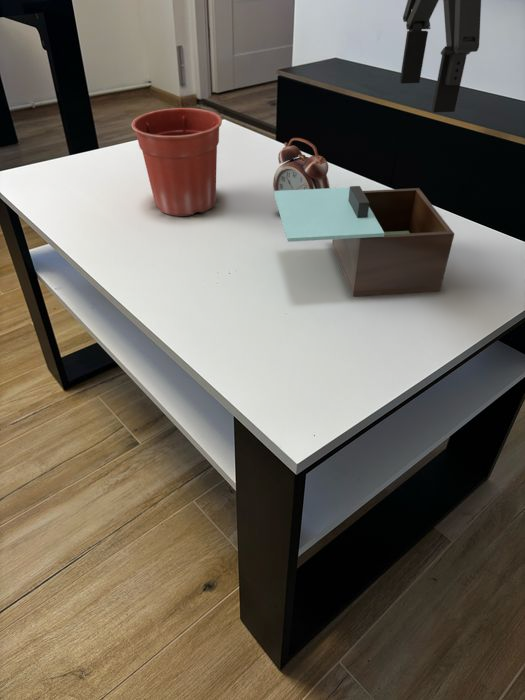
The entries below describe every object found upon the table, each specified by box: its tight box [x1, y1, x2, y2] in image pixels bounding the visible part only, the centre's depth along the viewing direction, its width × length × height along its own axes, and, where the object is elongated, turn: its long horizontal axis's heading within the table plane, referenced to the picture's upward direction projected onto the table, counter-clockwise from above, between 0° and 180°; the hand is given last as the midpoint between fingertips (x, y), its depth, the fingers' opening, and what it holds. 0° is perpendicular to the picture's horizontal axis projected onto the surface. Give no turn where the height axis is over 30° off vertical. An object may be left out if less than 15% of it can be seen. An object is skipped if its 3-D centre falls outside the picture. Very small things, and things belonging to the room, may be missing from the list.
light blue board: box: [273, 185, 384, 243], centre depth 82 cm, size 16×14×3 cm
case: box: [331, 187, 455, 297], centre depth 87 cm, size 16×14×10 cm
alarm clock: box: [272, 137, 331, 192], centre depth 99 cm, size 11×5×15 cm, turn 45°
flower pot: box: [131, 107, 223, 217], centre depth 104 cm, size 16×16×16 cm
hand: (424, 96), depth 73 cm, fingers open, 13 cm apart
